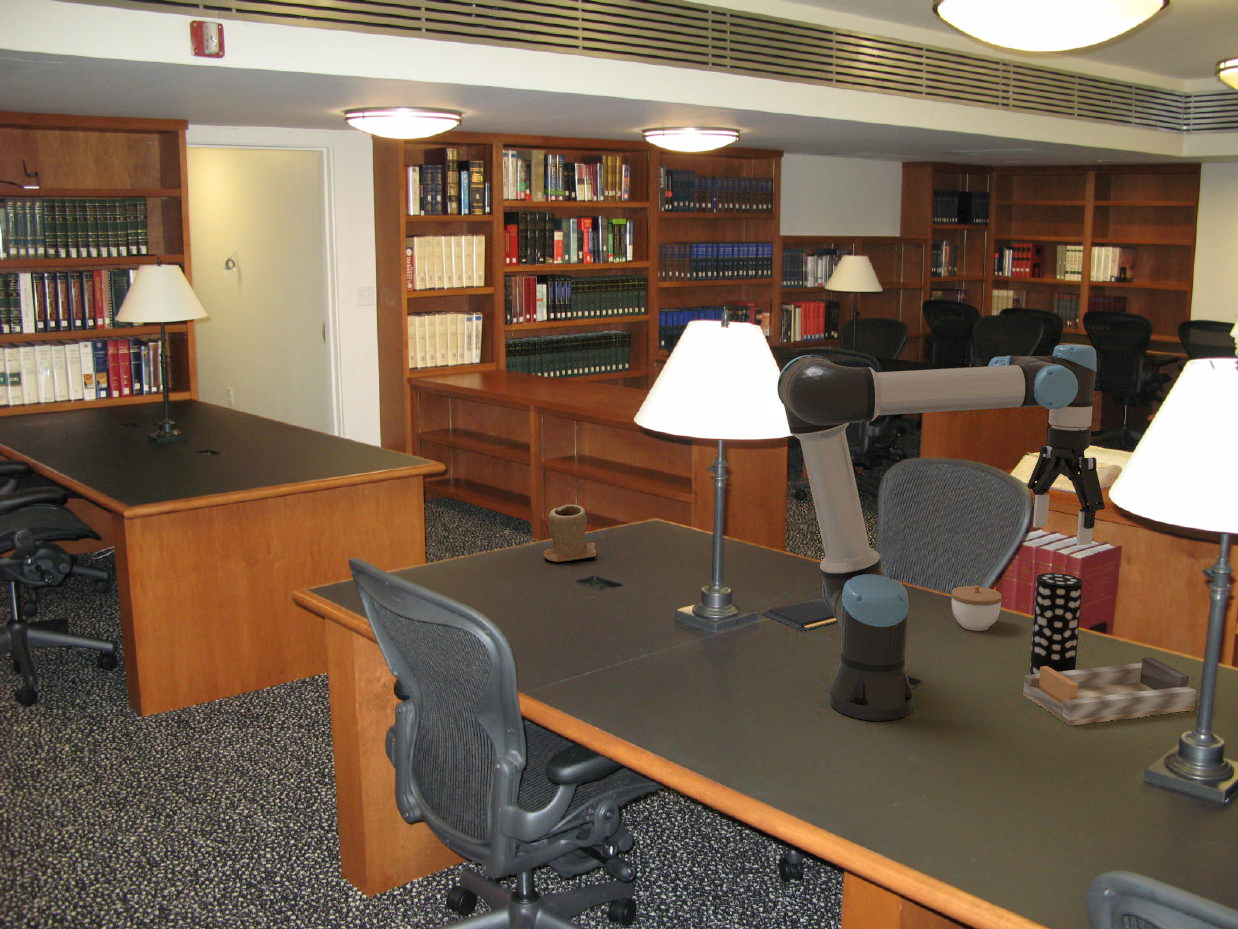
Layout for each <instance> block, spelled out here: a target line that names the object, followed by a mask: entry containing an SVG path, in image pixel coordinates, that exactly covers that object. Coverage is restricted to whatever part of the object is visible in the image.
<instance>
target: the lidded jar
mask: <svg viewBox="0 0 1238 929" xmlns="http://www.w3.org/2000/svg"><path fill="white" fill-rule="evenodd" d="M950 595H951V610H952V614H953V616H954V619H955V620H956V621H957V622H958V623H959V624H960V627H961V626H962V627H961V628H963V629H965V630H969V631H975V632H976V631H978V632H979V631H980V632H981V631H982V632H983V631H987V630H988V629H990V627H991V626H992V625H993V624H995V623H996V622H997V620H998V618H999V615H1000V612H1001V606H1002V601H1003V600H1002V599H1003V595H1002V594H1001V592H999V590H995V589H992V588H988V587H985V586H980V585H978V584H977V585H966V586H958V587H955V588H952V590H951V594H950Z"/></svg>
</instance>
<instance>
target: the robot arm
mask: <svg viewBox="0 0 1238 929" xmlns="http://www.w3.org/2000/svg"><path fill="white" fill-rule="evenodd" d="M1097 370H1098V369H1097V351H1096V348H1094V347H1093V346H1091V345H1086V344H1057V345H1055V347H1054V348H1053V353H1052V355H1048V356H1038V355H1037V356H1036V355H1035V356H1029V355H1028V356H1027V355H1026V356H1023V355H1022V356H1021V355H1020V356H1019V355H1016V356H1015V355H1007V356H994V357H993V358H991V360H990V361H989V363H988V365H987V366H978V367H977V366H975V367H973V366H972V367H957V368H955V367H954V368H953V367H952V368H939V369H937V368H935V369H920V370H919V369H918V370H903V371H902V370H900V371H899V370H898V371H881V372H880V371H879V372H877V371H875V370H874V369H873V368H872V367H871V366H870V367H869V366H867V367H866V366H865V367H863V366H862V367H854V366H853V367H852V366H844V365H839V364H835V363H834V362H832V361H831V360H829V359H827V358H826V357H824V356H821V355H819V354H818V355H817V354H809V355H807V354H806V355H801V356H797V357H796V358H793V359H791V360H790V361H789V362H787V364H786V365H785V366H784V367H783V368H782V370H781V372H780V374H779V376H778V379H777V386H776V387H777V388H776V389H777V395H778V398H779V400H780V402H781V404H782V405H783V408H784V411H785V416H786V420H787V425H788V428H789V433H790V434H791V435H792V436H793V437H795V438H796V439H799V442H800V446H801V451H802V456H803V459H804V465H805V468H806V474H807V477H808V482H809V487H810V491H811V496H812V501H813V504H814V509H815V515H816V519H817V522H818V528H819V531H820V536H821V541H822V545H823V550H824V555H825V556H824V558H823V560H822V561H821V562H820V565H819V568H820V572H821V573H820V574H821V578H822V586H821V587H822V597H823V599H824V601H825V603H826V605H827V607H828V609H829V610H830V612H831V613H832V614H833V615H834V617H835V618H836V620H837V621H838V623H837V624H839V627H840V629H841V637H840V639H841V640H840V662H839V665H838V667H837V670H836V673H835V676H834V678H833V680H832V683H831V685H830V689H829V699H828V700H829V705H830V706H831V707H832V708H833V709H834V710H835V711H837V712H839V713H840V714H843V715H845V716H848V717H851V718H855V719H859V720H863V721H880V722H881V721H883V722H884V721H885V722H886V721H893V720H898V719H902V718H904V717H906V716H908V715H910V714H911V712H912V711H913V706H914V696H913V692H912V689H911V684H910V682H909V681H910V680H909V677H908V674H907V670H906V649H907V630H908V614H909V609H910V607H909V605H910V604H909V597H908V591H907V588H906V587H905V586H904V584H902V583H901V582H900V581H898V580H896V579H894V578H890V577H888V576H886V575H885V574H884V570H883V565H882V561H881V555H880V554H879V552H877V551H876V550H874V549H873V548H872V547H870V543H869V537H868V534H867V528H866V523H865V520H864V515H863V510H862V505H861V501H860V500H861V499H860V496H859V490H858V485H857V481H856V477H855V472H854V467H853V462H852V458H851V453H850V448H849V444H848V440H847V435H846V428H847V427H848V426H849V425H850V424H856V423H863V422H864V423H865V422H874V420H875V419H876V418H877V417H878V416H889V415H903V414H905V415H906V414H907V415H908V414H921V413H924V414H925V413H936V412H937V413H938V412H940V413H942V412H957V411H959V412H960V411H973V410H990V409H1007V408H1032V407H1033V408H1034V407H1042V408H1045V409H1048V410H1049V411H1048V423H1049V425H1050V426H1049V428H1048V429H1047V442H1046V443H1047V445H1044V446H1041V447H1040V448H1039V457H1038V458H1037V461H1036V463H1035V466H1034V468H1033V470H1032V473H1031V475H1030V478H1029V480H1028V482H1027V488H1028V489H1029V490H1032V494H1034V495H1033V496H1034V498H1033V510H1034V511H1033V522H1032V524H1033V525H1032V526H1033V528H1036V529H1037V528H1047V527H1048V524H1049V522H1048V521H1049V520H1048V519H1049V506H1050V497H1051V496H1050V495H1051V494H1050V489H1051V487H1052V486H1053V484H1054V483H1055V482H1056V480H1057V479H1058V477H1059V476H1060V475H1062V476H1064V477H1066V478H1067V479H1068V480H1069V481H1070V482H1071V484H1072V486H1073V489H1074V491H1075V494H1076V496H1077V499H1078V501H1079V504H1080V506H1081V508H1080V509H1079V510H1078V518H1077V519H1078V523H1077V534H1076V545H1078V546H1085V545H1092V543H1093V530H1094V528H1095V520H1096V512H1098V511H1101V510H1103V511H1104V509H1105V508H1106V506H1105V501H1104V498H1103V492H1102V489H1101V488H1102V487H1101V484H1100V480H1099V475H1098V471H1097V458H1096V457H1086V456H1085V451H1086V450H1087V449H1089V448H1090V445H1091V432H1092V430H1091V429H1090V428H1089V427H1091V426H1092V420H1093V418H1092V416H1093V404H1094V395H1095V394H1094V392H1095V383H1096V373H1097V372H1098V371H1097Z"/></svg>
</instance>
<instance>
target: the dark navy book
mask: <svg viewBox="0 0 1238 929" xmlns="http://www.w3.org/2000/svg"><path fill="white" fill-rule="evenodd" d="M761 615H762V616H763V617H765V618H767V619H770V620H772V621H775V622H778V623H780V624H782V623H783V624H782V625H785V626H787V627H789V626H792V627H793V628H792V627H791V628H792V629H794V628H795V630H797V631H799V630H800V632H802V631H805V632H808V631H807V630H810V631H814V630H817V629H820V628H819V627H821V628H823V627H822V626H824V627H828V626H832V625H836V624H839V623H838V621H837V620H836V618H835V617H834V615H833V614H832V613H831V612H830V610H829V609H828V607H827V605H826V603H825V601H824V597H823V598H822V597H817V598H812V599H809V600H808V599H807V600H805V601H801V602H796V603H792V604H787V605H784V606H780V607H775V608H771V609H769V610H767V611H764V612H762V614H761ZM835 623H836V624H835ZM831 624H832V625H831ZM816 628H817V629H816Z"/></svg>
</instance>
